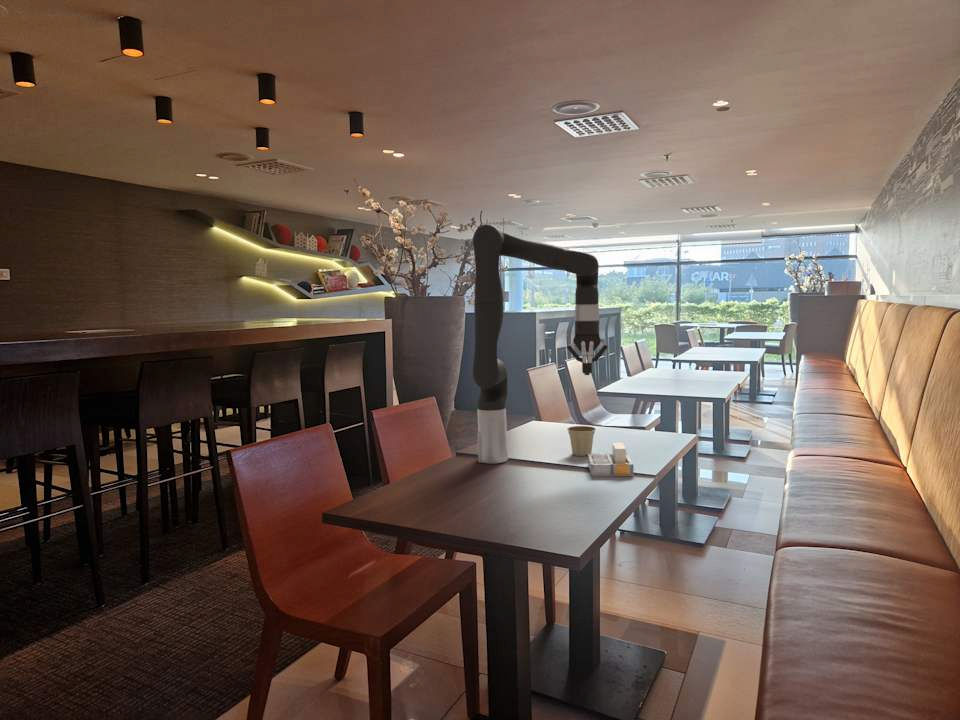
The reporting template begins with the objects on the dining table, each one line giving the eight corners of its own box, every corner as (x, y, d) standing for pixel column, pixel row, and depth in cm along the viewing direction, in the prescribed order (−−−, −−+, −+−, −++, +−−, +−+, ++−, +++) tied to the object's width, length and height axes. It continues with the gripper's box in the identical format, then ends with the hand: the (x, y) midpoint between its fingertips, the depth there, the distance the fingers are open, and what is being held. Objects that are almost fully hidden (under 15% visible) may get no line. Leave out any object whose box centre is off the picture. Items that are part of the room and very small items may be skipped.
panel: (615, 472, 182) (615, 448, 182) (612, 465, 190) (612, 442, 190) (626, 472, 182) (625, 448, 181) (622, 465, 190) (622, 442, 189)
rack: (591, 477, 180) (591, 464, 180) (588, 465, 194) (587, 453, 193) (633, 476, 179) (633, 463, 179) (627, 464, 192) (627, 452, 192)
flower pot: (595, 450, 212) (594, 425, 211) (597, 457, 202) (597, 431, 202) (567, 451, 213) (566, 426, 212) (568, 457, 203) (567, 431, 203)
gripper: (565, 320, 190) (565, 376, 192) (609, 319, 189) (609, 376, 190) (565, 319, 198) (565, 373, 199) (607, 318, 196) (607, 373, 198)
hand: (587, 374), depth 195 cm, fingers closed
